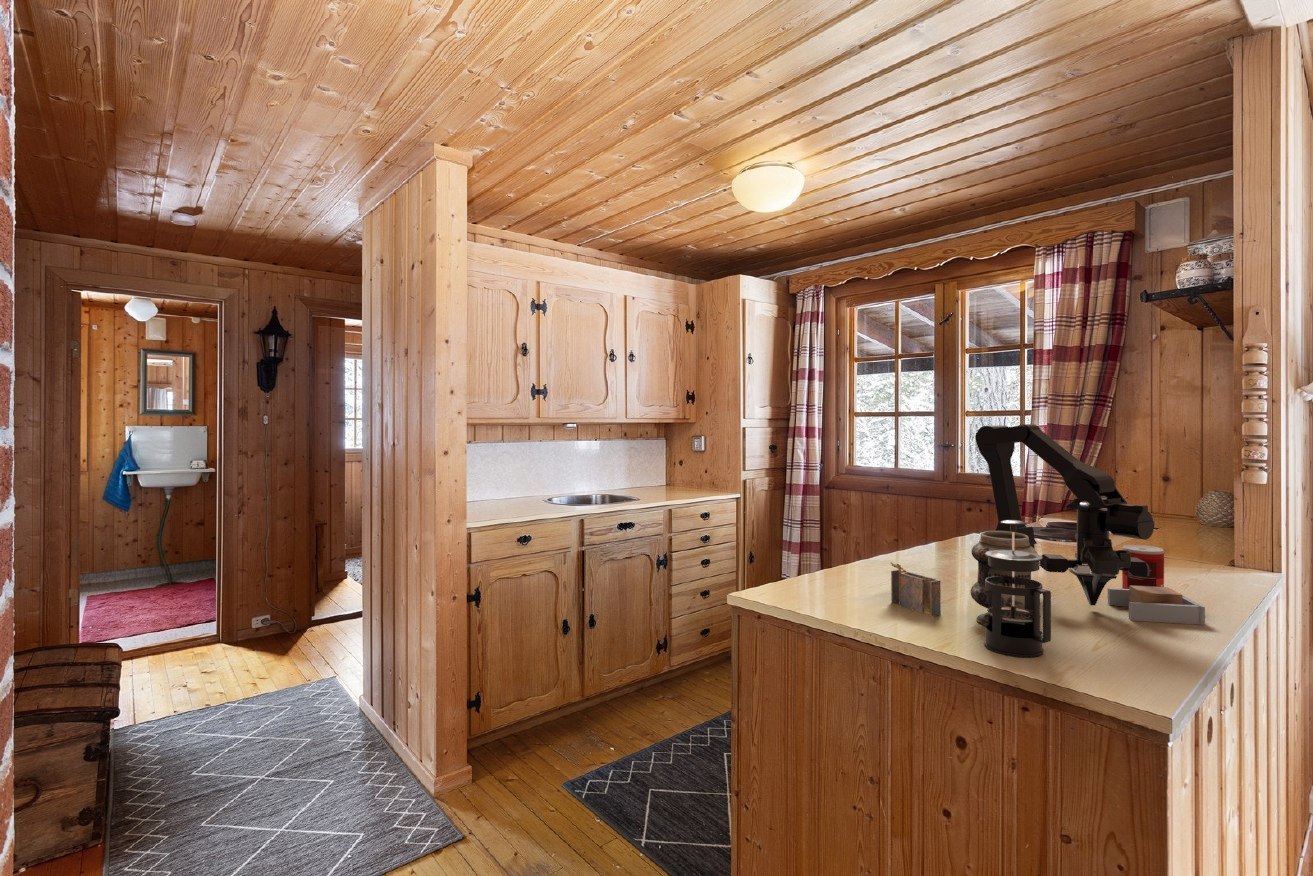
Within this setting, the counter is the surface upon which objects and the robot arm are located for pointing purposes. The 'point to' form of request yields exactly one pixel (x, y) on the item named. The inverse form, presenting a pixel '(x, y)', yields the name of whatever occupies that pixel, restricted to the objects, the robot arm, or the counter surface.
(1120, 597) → the dock
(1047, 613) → the french press
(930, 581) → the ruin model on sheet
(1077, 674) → the counter surface
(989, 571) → the apothecary jar
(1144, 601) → the brown toy brick
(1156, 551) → the canned food
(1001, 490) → the robot arm
